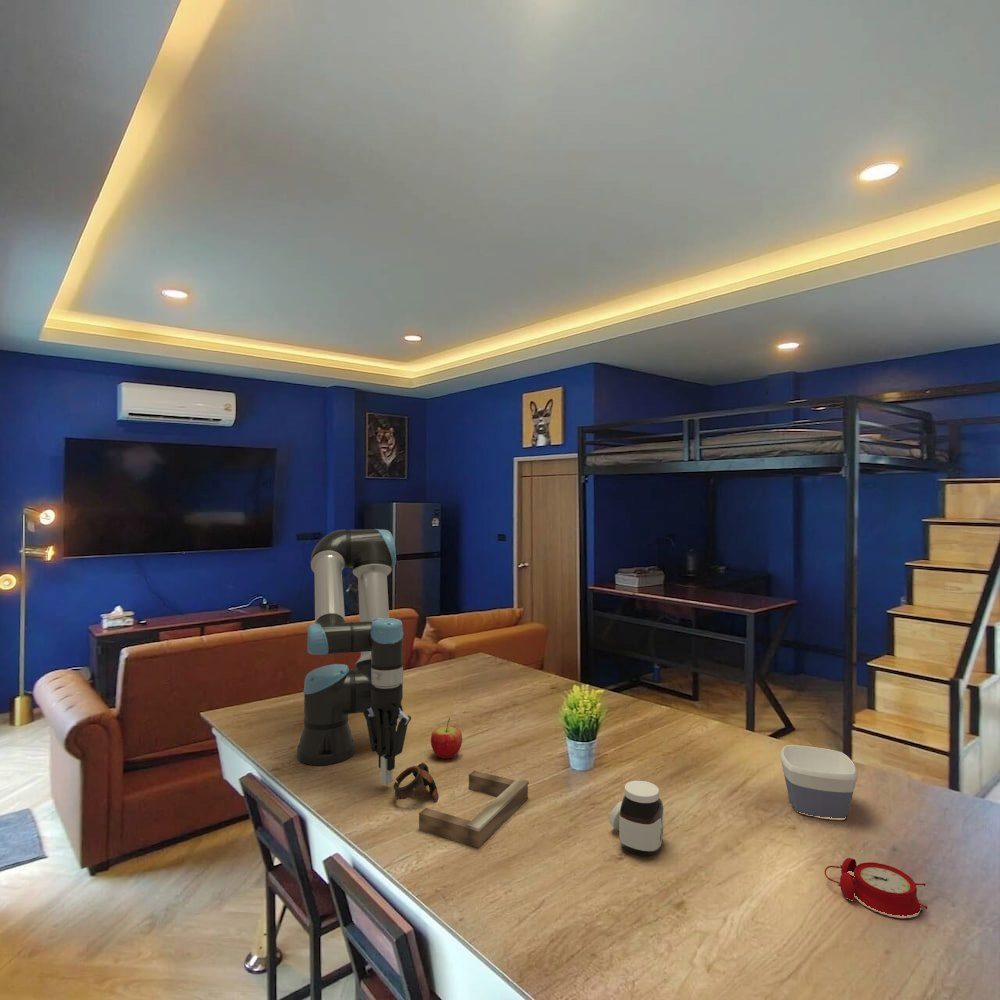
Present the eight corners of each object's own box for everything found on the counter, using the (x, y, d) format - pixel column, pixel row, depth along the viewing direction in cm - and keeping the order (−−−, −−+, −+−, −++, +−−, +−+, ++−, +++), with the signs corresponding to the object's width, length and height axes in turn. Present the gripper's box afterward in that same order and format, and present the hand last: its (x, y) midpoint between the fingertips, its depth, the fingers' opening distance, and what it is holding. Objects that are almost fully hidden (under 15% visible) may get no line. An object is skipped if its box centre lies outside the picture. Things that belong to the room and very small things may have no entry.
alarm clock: (931, 909, 99) (829, 860, 107) (920, 944, 100) (820, 892, 108) (927, 876, 108) (833, 833, 116) (917, 908, 109) (825, 862, 117)
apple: (467, 753, 168) (467, 717, 168) (452, 765, 160) (452, 727, 160) (441, 748, 171) (441, 712, 171) (425, 760, 163) (425, 722, 163)
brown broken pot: (439, 811, 138) (421, 783, 136) (402, 826, 139) (384, 798, 138) (445, 774, 149) (429, 748, 148) (412, 788, 151) (395, 762, 149)
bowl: (848, 797, 144) (848, 750, 144) (863, 831, 129) (864, 778, 129) (777, 787, 149) (777, 741, 149) (784, 818, 134) (784, 767, 134)
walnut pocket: (418, 830, 129) (418, 810, 129) (474, 784, 150) (474, 767, 150) (478, 848, 122) (478, 828, 122) (528, 798, 143) (528, 780, 143)
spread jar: (652, 864, 117) (652, 803, 117) (597, 846, 123) (597, 788, 123) (670, 835, 127) (670, 779, 127) (618, 820, 133) (619, 766, 133)
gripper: (355, 684, 147) (355, 782, 147) (398, 692, 141) (398, 795, 141) (375, 676, 154) (375, 770, 154) (418, 683, 148) (418, 781, 147)
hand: (386, 782), depth 147 cm, fingers closed
